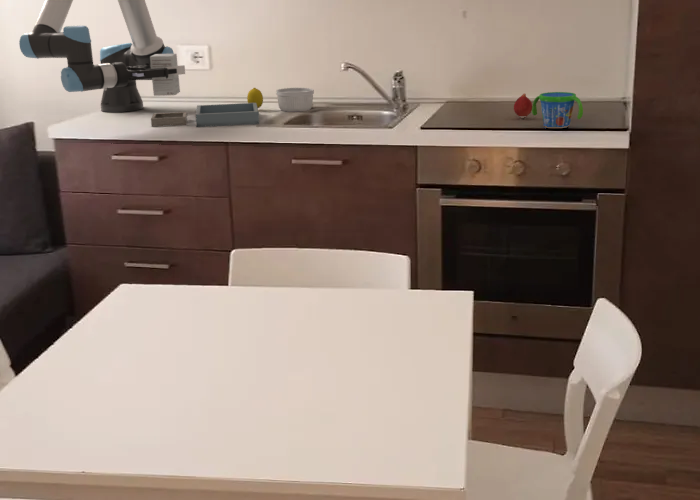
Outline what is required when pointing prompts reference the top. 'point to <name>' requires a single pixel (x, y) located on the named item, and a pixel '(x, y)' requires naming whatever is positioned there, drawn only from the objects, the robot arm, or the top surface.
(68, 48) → the robot arm
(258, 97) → the lemon
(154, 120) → the collar
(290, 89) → the ramekin
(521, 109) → the onion
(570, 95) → the snack cup
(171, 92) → the supplement box
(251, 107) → the tray
